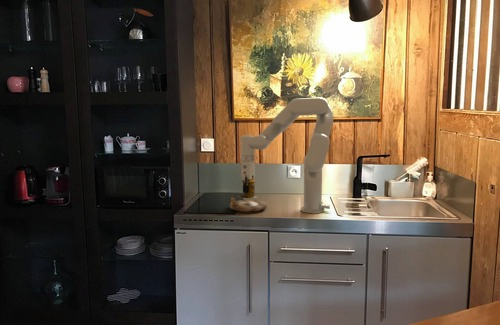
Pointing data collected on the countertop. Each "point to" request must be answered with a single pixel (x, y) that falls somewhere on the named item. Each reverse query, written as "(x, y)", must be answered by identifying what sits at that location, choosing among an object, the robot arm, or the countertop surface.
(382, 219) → the countertop surface
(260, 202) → the brown round disc
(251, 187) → the condiment
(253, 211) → the base
